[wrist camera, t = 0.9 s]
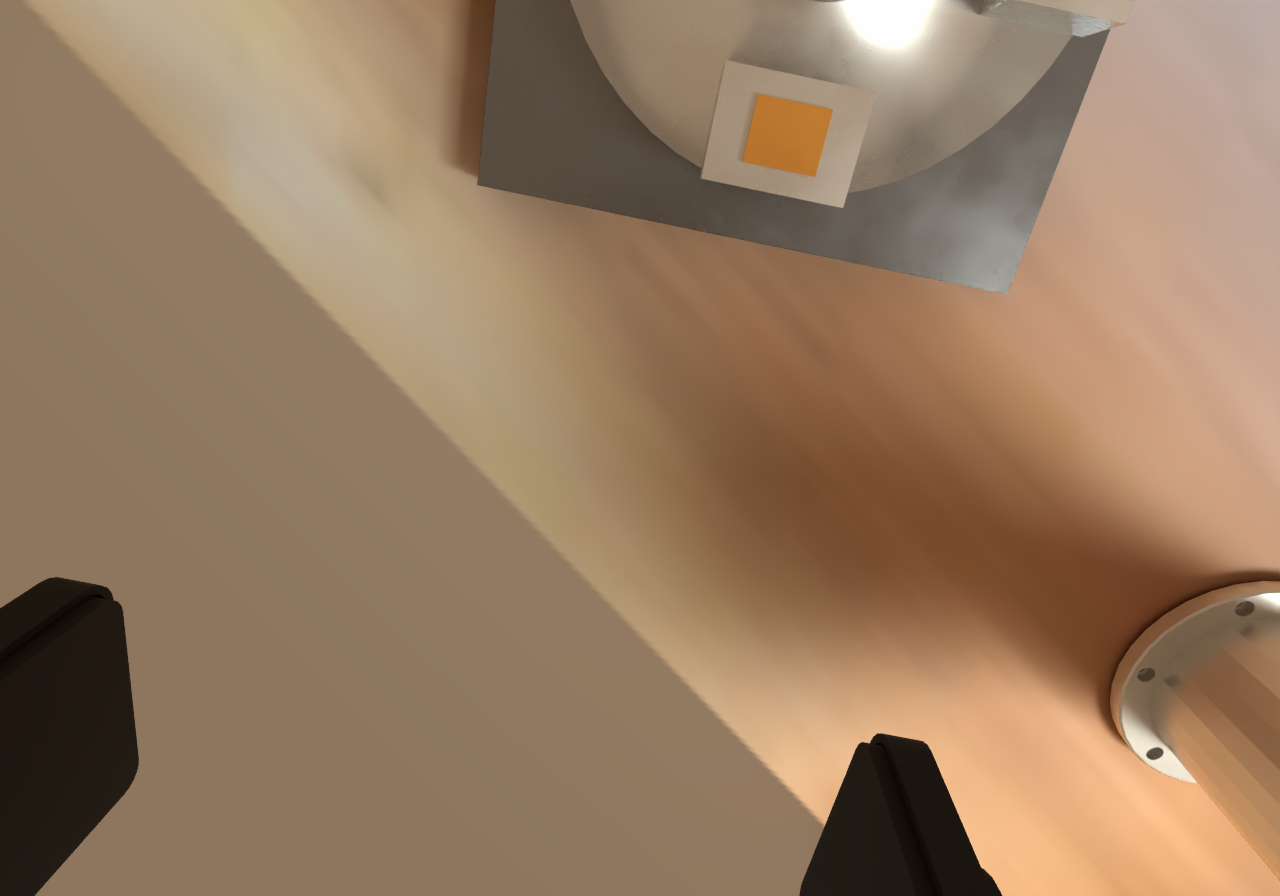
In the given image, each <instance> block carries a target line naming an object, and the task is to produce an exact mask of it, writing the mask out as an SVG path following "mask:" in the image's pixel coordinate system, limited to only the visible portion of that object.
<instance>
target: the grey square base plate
mask: <svg viewBox="0 0 1280 896" xmlns="http://www.w3.org/2000/svg"><path fill="white" fill-rule="evenodd" d="M1109 31H1110V29H1107V30H1104V31H1100V32H1097V33H1094V34H1091V35H1088V36H1085V37H1079V36H1075V35H1073V36H1072V37H1071V38H1070V40H1069V41H1068V43H1067V44H1066V45H1065V47H1064V48H1063V50H1062V51H1061V53H1060V54H1059V55H1058V57H1057V58H1056V60H1055V61H1054V62H1053V64H1052V65H1051V67H1050V68H1049V69H1048V70H1047V71H1046V73H1045V74H1044V75H1043V76H1042V77H1041V78H1040V79H1039V81H1038V82H1037V83H1036V84H1035V85H1034V86H1033V87H1032V89H1031V90H1030V91H1029V92H1028V93H1027V94H1026V95H1025V97H1024V98H1023V99H1022V100H1021V101H1020V102H1019V103H1018V104H1016V105H1015V106H1014V107H1013V108H1012V109H1011V110H1010V111H1009V112H1008V113H1007V114H1006V115H1004V116H1003V117H1002V118H1001V119H1000V120H999V121H998V122H997V123H996V124H995V125H994V126H992V127H991V128H990V129H988V130H987V131H986V132H984V133H983V134H982V135H980V136H979V137H977V138H976V139H975V140H973V141H972V142H971V143H969V144H968V145H967V146H965V147H964V148H962V149H961V150H959V151H957V152H956V153H954V154H952V155H950V156H949V157H947V158H945V159H943V160H942V161H940V162H938V163H936V164H935V165H933V166H931V167H929V168H927V169H924V170H922V171H920V172H917V173H915V174H913V175H910V176H908V177H905V178H903V179H901V180H898V181H896V182H892V183H888V184H885V185H881V186H877V187H874V188H870V189H867V190H863V191H856V192H849V193H847V196H846V200H845V203H844V207H843V208H840V207H835V206H830V205H825V204H821V203H816V202H811V201H806V200H801V199H797V198H792V197H787V196H782V195H777V194H773V193H768V192H763V191H758V190H753V189H749V188H744V187H739V186H734V185H729V184H725V183H720V182H715V181H710V180H705V179H701V178H699V176H700V171H701V168H700V167H698V166H696V165H695V164H693V163H692V162H690V161H688V160H687V159H685V158H683V157H682V156H680V155H679V154H677V153H675V152H674V151H673V150H672V149H671V148H669V147H668V146H667V145H666V144H665V143H663V142H662V141H661V140H660V139H659V138H657V137H656V136H655V135H654V134H653V133H651V132H650V131H649V129H648V128H647V127H646V126H645V125H644V124H643V123H642V122H641V121H640V120H639V119H638V117H637V116H636V115H635V114H634V113H633V112H632V111H631V110H630V109H629V108H628V107H627V105H626V104H625V103H624V102H623V100H622V99H621V97H620V96H619V95H618V93H617V92H616V90H615V89H614V88H613V86H612V85H611V83H610V82H609V81H608V79H607V78H606V76H605V75H604V73H603V72H602V70H601V68H600V66H599V64H598V62H597V60H596V58H595V57H594V55H593V53H592V51H591V49H590V47H589V45H588V44H587V42H586V40H585V37H584V35H583V32H582V29H581V27H580V24H579V22H578V19H577V17H576V14H575V12H574V9H573V7H572V4H571V1H570V0H496V3H495V13H494V23H493V33H492V43H491V53H490V64H489V74H488V84H487V94H486V104H485V114H484V125H483V135H482V145H481V155H480V165H479V175H478V185H480V186H485V187H490V188H494V189H499V190H504V191H509V192H514V193H519V194H523V195H528V196H533V197H538V198H543V199H548V200H552V201H557V202H562V203H567V204H572V205H577V206H582V207H586V208H591V209H596V210H601V211H606V212H611V213H615V214H620V215H625V216H630V217H635V218H640V219H644V220H649V221H654V222H659V223H664V224H669V225H673V226H678V227H683V228H688V229H693V230H698V231H702V232H707V233H712V234H717V235H722V236H727V237H731V238H736V239H741V240H746V241H751V242H756V243H761V244H765V245H770V246H775V247H780V248H785V249H790V250H794V251H799V252H804V253H809V254H814V255H819V256H823V257H828V258H833V259H838V260H843V261H848V262H852V263H857V264H862V265H867V266H872V267H877V268H881V269H886V270H891V271H896V272H901V273H906V274H911V275H915V276H920V277H925V278H930V279H935V280H940V281H944V282H949V283H954V284H959V285H964V286H969V287H973V288H978V289H983V290H988V291H993V292H998V293H1002V294H1007V293H1008V291H1009V288H1010V286H1011V283H1012V280H1013V278H1014V275H1015V273H1016V270H1017V268H1018V265H1019V262H1020V260H1021V257H1022V255H1023V252H1024V250H1025V247H1026V244H1027V242H1028V239H1029V237H1030V234H1031V232H1032V229H1033V226H1034V224H1035V221H1036V219H1037V216H1038V214H1039V211H1040V208H1041V206H1042V203H1043V201H1044V198H1045V196H1046V193H1047V190H1048V188H1049V185H1050V183H1051V180H1052V178H1053V175H1054V172H1055V170H1056V167H1057V165H1058V162H1059V160H1060V157H1061V154H1062V152H1063V149H1064V147H1065V144H1066V142H1067V139H1068V136H1069V134H1070V131H1071V129H1072V126H1073V124H1074V121H1075V118H1076V116H1077V113H1078V111H1079V108H1080V106H1081V103H1082V100H1083V98H1084V95H1085V93H1086V90H1087V87H1088V85H1089V82H1090V80H1091V77H1092V75H1093V72H1094V69H1095V67H1096V64H1097V62H1098V59H1099V57H1100V54H1101V51H1102V49H1103V46H1104V44H1105V41H1106V39H1107V36H1108V33H1109Z"/></svg>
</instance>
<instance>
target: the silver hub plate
mask: <svg viewBox="0 0 1280 896" xmlns="http://www.w3.org/2000/svg"><path fill="white" fill-rule="evenodd" d="M570 1H571V4H572V7H573V9H574V12H575V14H576V17H577V19H578V22H579V24H580V27H581V29H582V32H583V35H584V37H585V40H586V42H587V44H588V45H589V47H590V49H591V51H592V53H593V55H594V57H595V58H596V60H597V62H598V64H599V66H600V68H601V70H602V72H603V73H604V75H605V76H606V78H607V79H608V81H609V82H610V83H611V85H612V86H613V88H614V89H615V90H616V92H617V93H618V95H619V96H620V97H621V99H622V100H623V102H624V103H625V104H626V105H627V107H628V108H629V109H630V110H631V111H632V112H633V113H634V114H635V115H636V116H637V117H638V119H639V120H640V121H641V122H642V123H643V124H644V125H645V126H646V127H647V128H648V129H649V131H650V132H651V133H653V134H654V135H655V136H656V137H657V138H659V139H660V140H661V141H662V142H663V143H665V144H666V145H667V146H668V147H669V148H671V149H672V150H673V151H674V152H675V153H677V154H679V155H680V156H682V157H683V158H685V159H687V160H688V161H690V162H692V163H693V164H695V165H696V166H698V167H700V168H701V171H700V176H699V178H701V179H705V180H710V181H715V182H720V183H725V184H729V185H734V186H739V187H744V188H749V189H753V190H758V191H763V192H768V193H773V194H777V195H782V196H787V197H792V198H797V199H801V200H806V201H811V202H816V203H821V204H825V205H830V206H835V207H840V208H843V207H844V203H845V200H846V196H847V193H849V192H856V191H863V190H867V189H870V188H874V187H877V186H881V185H885V184H888V183H892V182H896V181H898V180H901V179H903V178H905V177H908V176H910V175H913V174H915V173H917V172H920V171H922V170H924V169H927V168H929V167H931V166H933V165H935V164H936V163H938V162H940V161H942V160H943V159H945V158H947V157H949V156H950V155H952V154H954V153H956V152H957V151H959V150H961V149H962V148H964V147H965V146H967V145H968V144H969V143H971V142H972V141H973V140H975V139H976V138H977V137H979V136H980V135H982V134H983V133H984V132H986V131H987V130H988V129H990V128H991V127H992V126H994V125H995V124H996V123H997V122H998V121H999V120H1000V119H1001V118H1002V117H1003V116H1004V115H1006V114H1007V113H1008V112H1009V111H1010V110H1011V109H1012V108H1013V107H1014V106H1015V105H1016V104H1018V103H1019V102H1020V101H1021V100H1022V99H1023V98H1024V97H1025V95H1026V94H1027V93H1028V92H1029V91H1030V90H1031V89H1032V87H1033V86H1034V85H1035V84H1036V83H1037V82H1038V81H1039V79H1040V78H1041V77H1042V76H1043V75H1044V74H1045V73H1046V71H1047V70H1048V69H1049V68H1050V67H1051V65H1052V64H1053V62H1054V61H1055V60H1056V58H1057V57H1058V55H1059V54H1060V53H1061V51H1062V50H1063V48H1064V47H1065V45H1066V44H1067V43H1068V41H1069V40H1070V38H1071V37H1072V36H1073V35H1075V36H1079V37H1085V36H1088V35H1091V34H1094V33H1097V32H1100V31H1104V30H1107V29H1110V28H1113V27H1116V26H1119V25H1122V24H1125V23H1126V20H1127V18H1128V15H1129V13H1130V10H1131V8H1132V5H1133V3H1134V0H570Z"/></svg>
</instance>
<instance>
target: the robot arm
mask: <svg viewBox="0 0 1280 896" xmlns="http://www.w3.org/2000/svg"><path fill="white" fill-rule="evenodd" d="M1110 706H1111V713H1112V719H1113V721H1114V723H1115V726H1116V728H1117V730H1118V733H1119V734H1120V735H1121V737H1122V738H1123V739H1124V741H1125V742H1126V743H1127V745H1128V746H1129V748H1130V749H1131V750H1132V752H1133V753H1134V754H1135V755H1136V756H1137V757H1138V758H1139V759H1140V760H1141V761H1142V762H1144V763H1145V764H1147V765H1148V766H1150V767H1151V768H1153V769H1155V770H1156V771H1158V772H1159V773H1162V774H1164V775H1167V776H1170V777H1172V778H1175V779H1178V780H1182V781H1187V782H1192V783H1198V784H1199V785H1200V786H1201V788H1202V789H1203V790H1204V791H1205V792H1206V794H1207V795H1208V796H1209V797H1210V798H1211V800H1212V801H1213V802H1214V803H1215V804H1216V806H1217V807H1218V808H1219V809H1220V810H1221V812H1222V813H1223V814H1224V815H1225V816H1226V817H1227V819H1228V820H1229V821H1230V822H1231V823H1232V825H1233V826H1234V827H1235V828H1236V829H1237V831H1238V832H1239V833H1240V834H1241V835H1242V837H1243V838H1244V839H1245V840H1246V841H1247V843H1248V844H1249V845H1250V846H1251V847H1252V849H1253V850H1254V851H1255V852H1256V853H1257V855H1258V856H1259V857H1260V858H1261V859H1262V861H1263V862H1264V863H1265V864H1266V865H1267V866H1268V868H1269V869H1270V870H1271V871H1272V872H1273V874H1274V875H1275V876H1276V877H1277V878H1278V880H1279V881H1280V581H1258V582H1250V583H1242V584H1236V585H1232V586H1228V587H1225V588H1221V589H1217V590H1213V591H1210V592H1208V593H1206V594H1203V595H1201V596H1198V597H1196V598H1194V599H1191V600H1189V601H1187V602H1185V603H1183V604H1181V605H1180V606H1178V607H1176V608H1175V609H1173V610H1171V611H1170V612H1168V613H1166V614H1165V615H1163V616H1162V617H1161V618H1160V619H1158V620H1157V621H1156V622H1155V623H1153V624H1152V625H1151V626H1150V627H1148V628H1147V629H1146V630H1145V631H1144V632H1143V633H1142V634H1141V635H1140V637H1139V638H1138V639H1137V640H1136V641H1135V642H1134V643H1133V644H1132V645H1131V647H1130V648H1129V650H1128V651H1127V653H1126V654H1125V656H1124V658H1123V659H1122V661H1121V662H1120V664H1119V666H1118V669H1117V671H1116V674H1115V677H1114V679H1113V682H1112V688H1111V696H1110ZM138 762H139V758H138V748H137V738H136V729H135V720H134V710H133V701H132V692H131V682H130V673H129V663H128V655H127V645H126V635H125V627H124V617H123V610H122V606H121V605H120V604H119V602H117V601H114V600H113V596H112V593H111V592H110V590H109V589H108V588H107V587H104V586H100V585H96V584H91V583H85V582H80V581H74V580H69V579H64V578H59V577H55V578H49V579H46V580H44V581H42V582H40V583H38V584H37V585H36V586H34V587H32V588H31V589H29V590H28V591H26V592H25V593H23V594H22V595H20V596H19V597H17V598H16V599H14V600H13V601H11V602H9V603H8V604H6V605H5V606H3V607H2V608H0V896H35V895H36V893H37V892H38V891H39V890H40V889H41V888H42V887H43V886H44V884H45V883H46V882H47V881H48V880H49V879H50V877H51V876H52V875H53V874H54V873H55V872H56V871H57V869H59V867H60V866H61V865H62V864H63V863H64V862H65V861H66V860H67V858H68V857H69V856H70V855H71V854H72V853H73V851H74V850H75V849H76V848H77V847H78V846H79V845H80V844H81V843H82V841H83V840H84V839H85V838H86V837H87V836H88V834H89V833H90V832H91V831H92V830H93V829H94V828H95V827H96V826H97V824H98V823H99V822H100V821H101V820H102V819H103V818H104V816H105V815H106V814H107V813H108V812H109V811H110V809H112V807H113V806H114V805H115V804H116V803H117V802H118V801H119V799H120V798H121V797H122V796H123V795H124V794H125V792H126V791H127V790H128V789H129V787H130V785H131V784H132V781H133V780H134V777H135V775H136V773H137V769H138V764H139V763H138ZM800 896H1002V894H1001V892H1000V890H999V889H998V887H997V885H996V883H995V881H994V880H993V878H992V877H991V876H990V875H989V874H988V873H987V872H986V871H985V870H984V869H982V868H981V866H980V864H979V862H978V859H977V857H976V855H975V852H974V850H973V848H972V845H971V843H970V841H969V838H968V836H967V834H966V831H965V829H964V827H963V824H962V822H961V820H960V817H959V815H958V813H957V810H956V808H955V806H954V803H953V801H952V799H951V796H950V794H949V792H948V789H947V787H946V785H945V782H944V780H943V778H942V775H941V773H940V771H939V768H938V766H937V764H936V761H935V759H934V757H933V754H932V752H931V750H930V748H929V747H928V745H927V744H926V743H924V742H923V741H918V740H913V739H908V738H903V737H897V736H892V735H887V734H876V735H875V736H874V737H873V739H872V740H871V742H870V743H864V742H861V743H860V744H859V745H858V746H857V748H856V750H855V753H854V755H853V758H852V760H851V763H850V765H849V768H848V770H847V773H846V775H845V778H844V780H843V782H842V785H841V787H840V790H839V792H838V795H837V797H836V800H835V802H834V805H833V807H832V810H831V812H830V815H829V817H828V820H827V822H826V825H825V827H824V830H823V832H822V835H821V837H820V839H819V842H818V844H817V847H816V849H815V852H814V855H813V857H812V859H811V862H810V864H809V867H808V869H807V872H806V875H805V877H804V879H803V882H802V885H801V889H800Z"/></svg>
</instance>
